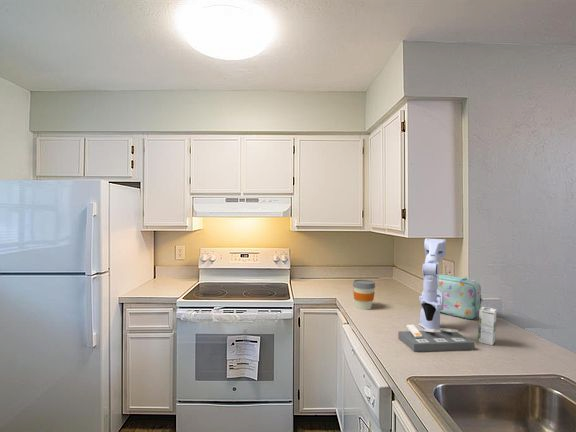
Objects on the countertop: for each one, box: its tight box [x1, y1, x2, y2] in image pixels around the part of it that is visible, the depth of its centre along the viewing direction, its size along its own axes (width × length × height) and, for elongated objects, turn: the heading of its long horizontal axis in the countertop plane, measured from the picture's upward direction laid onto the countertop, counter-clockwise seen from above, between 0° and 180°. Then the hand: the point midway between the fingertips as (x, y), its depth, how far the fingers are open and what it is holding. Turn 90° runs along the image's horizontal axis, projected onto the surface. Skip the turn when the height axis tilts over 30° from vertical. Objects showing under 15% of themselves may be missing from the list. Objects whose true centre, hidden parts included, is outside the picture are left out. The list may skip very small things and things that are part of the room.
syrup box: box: [477, 306, 498, 346], centre depth 145 cm, size 6×6×14 cm
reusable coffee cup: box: [352, 279, 376, 311], centre depth 194 cm, size 13×13×15 cm
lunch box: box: [438, 274, 484, 320], centre depth 184 cm, size 27×10×21 cm, turn 43°
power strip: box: [397, 330, 475, 353], centre depth 142 cm, size 14×26×4 cm, turn 97°
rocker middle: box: [423, 329, 441, 332], centre depth 145 cm, size 8×3×1 cm, turn 7°
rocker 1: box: [406, 324, 423, 338], centre depth 144 cm, size 8×3×1 cm, turn 7°
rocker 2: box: [440, 327, 459, 333], centre depth 146 cm, size 8×3×1 cm, turn 7°
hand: (429, 320), depth 149 cm, fingers closed
